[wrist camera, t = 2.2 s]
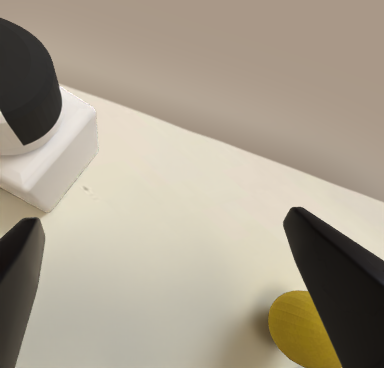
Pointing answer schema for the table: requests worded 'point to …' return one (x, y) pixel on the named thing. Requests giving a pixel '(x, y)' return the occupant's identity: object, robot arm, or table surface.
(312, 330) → the lemon
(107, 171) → the table surface
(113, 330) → the table surface
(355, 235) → the table surface
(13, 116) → the medicine bottle
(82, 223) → the table surface
